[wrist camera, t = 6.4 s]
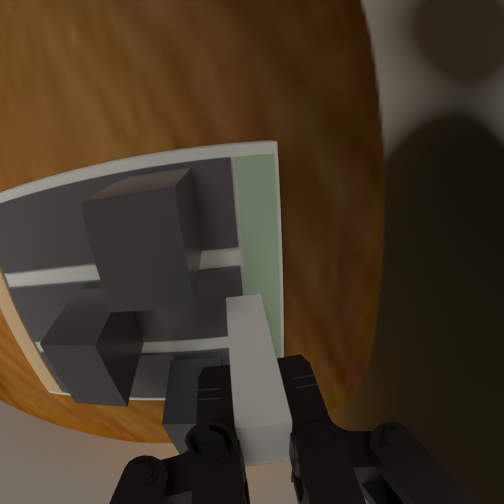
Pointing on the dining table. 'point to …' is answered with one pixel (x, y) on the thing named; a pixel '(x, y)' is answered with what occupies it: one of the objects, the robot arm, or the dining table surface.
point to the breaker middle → (94, 349)
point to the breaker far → (183, 398)
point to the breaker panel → (211, 264)
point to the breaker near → (146, 240)
